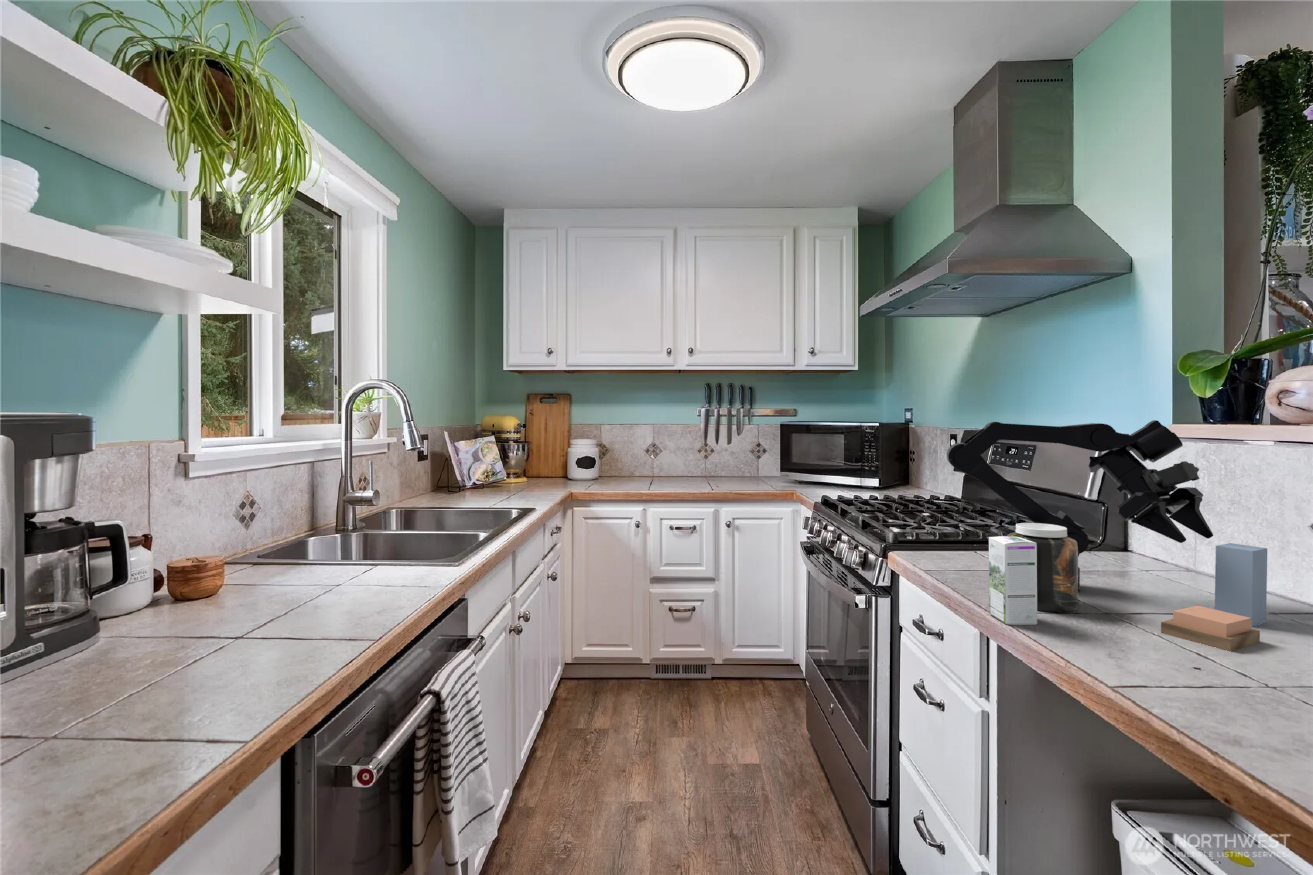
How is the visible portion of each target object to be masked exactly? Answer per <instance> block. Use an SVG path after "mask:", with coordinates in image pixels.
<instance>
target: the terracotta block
mask: <svg viewBox="0 0 1313 875" xmlns="http://www.w3.org/2000/svg"><path fill="white" fill-rule="evenodd" d="M1172 619H1173V623H1175V624H1179V625H1183V626H1187V627H1191V628H1194V629H1198V630H1202V631H1206V632H1210V633H1213V634H1217V635H1221V636H1225V637H1227V636H1231V635H1235V634H1239V633H1242V632H1246V631H1250V630H1251V629H1252V627H1251V618H1249V617H1245V616H1240V615H1236V614H1232V613H1227V612H1223V611H1219V610H1215V608H1209V607H1206V606H1201V605H1194V606H1190V607H1184V608H1180V609H1175V610H1172Z"/></svg>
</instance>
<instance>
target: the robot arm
mask: <svg viewBox="0 0 1313 875" xmlns="http://www.w3.org/2000/svg"><path fill="white" fill-rule="evenodd" d="M1002 440H1003V441H1013V442H1014V441H1015V442H1016V441H1017V442H1030V443H1031V442H1032V443H1045V444H1047V443H1048V444H1058V445H1059V444H1060V445H1065V446H1068V447H1074V448H1078V449H1082V450H1086V451H1093V452H1098V453H1099V452H1100V453H1102V454H1100V455H1098V456H1093V455H1090V456H1089V457H1088V458H1089V464H1088V470H1089V472H1090V473H1095V472H1096V471H1099V470H1100V469H1102V470H1103V471H1104V472H1105V473H1106V474H1107V475H1108V476H1109V477H1110V478H1111V479H1112V480H1113V481H1114V482H1115V483H1116V484H1117V485H1118V487H1116V490H1117V491H1118V492H1120V493H1126V494H1127V495H1128V496H1129V497H1128V498H1126V499H1125V500H1124V501H1123V502H1121V503H1120V504H1119V505H1118V506H1117V514H1118V515H1119V517H1121V518H1122V520H1124V521H1125V522H1126V521H1130V522H1131V523H1132V524H1137V525H1139V526H1140V527H1144V528H1146V529H1148V530H1150V531H1153V532H1155V533H1157V534H1160V535H1161V536H1164V537H1166V538H1169V539H1171V540H1173V541H1175V542H1177V543H1179V544H1183V543H1185V542H1186V541H1187V538H1186V537H1185V535H1184V534H1183V532H1182V531H1181V530H1180V528H1179V527H1178V526H1177V525H1176V524H1175V522H1177V523H1179V525H1182V526H1184V527H1185V528H1187V529H1189V530H1191V531H1192V532H1195V533H1196V534H1198V535H1200V536H1202V537H1204V538H1206V539H1211V538H1213V537H1214V533H1213V532H1212V530H1211V528H1210V526H1209V524H1208V523H1207V521H1206V520H1205V518H1204V516H1203V514H1202V512H1201V508H1200V507H1201V503H1202V502H1203V496H1204V494H1203V493H1202V492H1201V491H1200V490H1199V489H1198V488H1196V487H1191V486H1186V487H1184V486H1183V487H1178V485H1181V484H1184V483H1187V482H1188V483H1189V482H1190V481H1192V482H1194V481H1196V480H1197V481H1198V480H1200V477H1199V476H1200V475H1198V472H1199V471H1200V469H1199V467H1196V466H1195V465H1194V463H1191V462H1188V461H1187V460H1185V461H1183V460H1182V461H1180V462H1178V463H1174V464H1173V465H1172V466H1169V467H1166V468H1162V469H1160V470H1158V469H1154V468H1148V467H1146V466H1145V465H1144V464H1143V463H1142V462H1146V461H1149V462H1151V463H1152V464H1154V463H1156V462H1157V461H1159V460H1161V459H1162V458H1164V457H1167V455H1169V454H1172V453H1173V452H1174V451H1177V450H1178V449H1180V448H1182V447H1183V446H1184V444H1183V442H1182V440H1181V439H1180V437H1179V436H1178V435H1177V434H1176V433H1175V432H1173V431H1171V429H1169V428H1167V426H1165V425H1163V424H1162V423H1161V422H1160V421H1159V420H1157V419H1156V420H1155V419H1153V420H1151V421H1149V422H1147V424H1145V425H1144V426H1143V427H1140V428H1139V429H1138V430H1136V431H1134V432H1133V433H1131V434H1129V433H1121V432H1117V431H1116V429H1114V428H1113V427H1112V426H1111V425H1110V424H1106V423H1098V422H1097V423H1095V422H1093V423H1092V422H1090V423H1081V424H1070V425H1061V426H1060V425H1059V426H1057V425H1056V426H1055V425H1053V426H1052V425H1038V424H1020V423H1007V422H1006V423H1003V422H999V421H990V422H987V423H986V424H985V425H984V426H983V428H981V429H980V430H979V431H977V432H975V433H974V434H972V435H971V436H970V437H968V438H967V439H966V440H965V441H963V442H956V443H954V444H952V445H951V446H949V447H948V449H947V451H946V460H947V461H948V463H949V464H950V465H951V466H952V467H953V468H954V469H956V470H958V471H959V472H962V473H964V474H965V475H966V476H967V475H968V476H969V477H972V478H973V479H975V480H977V481H979V482H981V483H982V484H983V485H984V486H986V487H987V488H989V489H990V490H991V491H993V492H994V493H995V494H996V495H997V496H999V497H1000V498H1001V499H1003V500H1004V501H1006V503H1008V504H1009V505H1011V506H1012V507H1013V508H1014V509H1016V510H1017V511H1019V512H1020V514H1022V515H1023V516H1025V517H1026V518H1027V519H1029V521H1032V523H1043V524H1052V525H1058V526H1063V527H1066V528H1067V535H1068V536H1067V537H1070V538H1072V539H1074V540H1076V542H1077V546H1078V557H1079V556H1080V554H1082V553H1084V552H1086V550H1087V549H1088V547H1089V543H1090V541H1089V536H1088V535H1087V533H1086V532H1085V531H1084V530H1085V527H1084V526H1083V525H1081V524H1079V523H1078V522H1076V521H1074V520H1073V519H1072V518H1071V517H1070V516H1069V515H1068V514H1066V513H1064V512H1063V511H1062V510H1059V511H1058V512H1057V513H1056V514H1053V513H1052V512H1050V511H1048V510H1047V509H1045V508H1044V507H1043V506H1042V505H1040V504H1039V503H1038V502H1036V501H1035V500H1034V499H1033V498H1031V497H1030V496H1028V495H1027V494H1026V493H1024V492H1023V491H1022V490H1021V489H1019V488H1018V487H1016V486H1015V484H1013V483H1011V482H1010V481H1009V480H1007V479H1006V478H1005V477H1004V476H1002V475H1001V474H1000V473H999V472H997V471H996V470H994V468H992V467H991V465H990V464H989V463H988V462H987V461H986V459H985V458H984V457H983V456H982V454H984V453H985V452H986V451H987V450H989V449H990V448H991V447H992V446H993V445H994V444H996V443H997V442H999V441H1002ZM1114 447H1119V448H1117V449H1115V450H1113V448H1114ZM1103 452H1104V453H1103ZM1172 520H1173V521H1175V522H1173V521H1172ZM1080 573H1081V568H1080V567H1079V566H1078V593H1080V592H1081V589H1080V588H1079V587H1080V585H1081V582H1080V581H1081V578H1080V577H1081V574H1080Z"/></svg>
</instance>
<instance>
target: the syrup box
mask: <svg viewBox="0 0 1313 875" xmlns="http://www.w3.org/2000/svg"><path fill="white" fill-rule="evenodd" d="M988 598H989V599H988V600H989V603H988V604H989V605H988V609H989V610H988V612H989V614H988V615H990V616H991V617H993V618H994V619H997V620H998V621H1000V622H1001V623H1003V624H1005V625H1013V626H1018V625H1019V626H1025V625H1026V626H1029V625H1030V626H1032V625H1038V610H1037V543H1035V542H1032V541H1029V540H1026V539H1023V538H1020V537H1015V536H1007V535H1001V536H989V537H988Z"/></svg>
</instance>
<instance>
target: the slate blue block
mask: <svg viewBox="0 0 1313 875" xmlns="http://www.w3.org/2000/svg"><path fill="white" fill-rule="evenodd" d="M1214 568H1215V573H1214V578H1215V580H1214V609H1215V610H1219V611H1223V612H1227V613H1232V614H1236V615H1240V616H1245V617H1249V618H1251V628H1253V626H1254V627H1256V626H1259V625H1264V624H1267V596H1268V595H1267V594H1268V592H1267V591H1268V589H1267V588H1268V587H1267V585H1268V548H1267V547H1261V546H1253V545H1245V544H1240V543H1239V544H1237V543H1234V542H1233V543H1231V542H1229V543H1224V544H1217V545H1215V565H1214ZM1263 623H1264V624H1263Z"/></svg>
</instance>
